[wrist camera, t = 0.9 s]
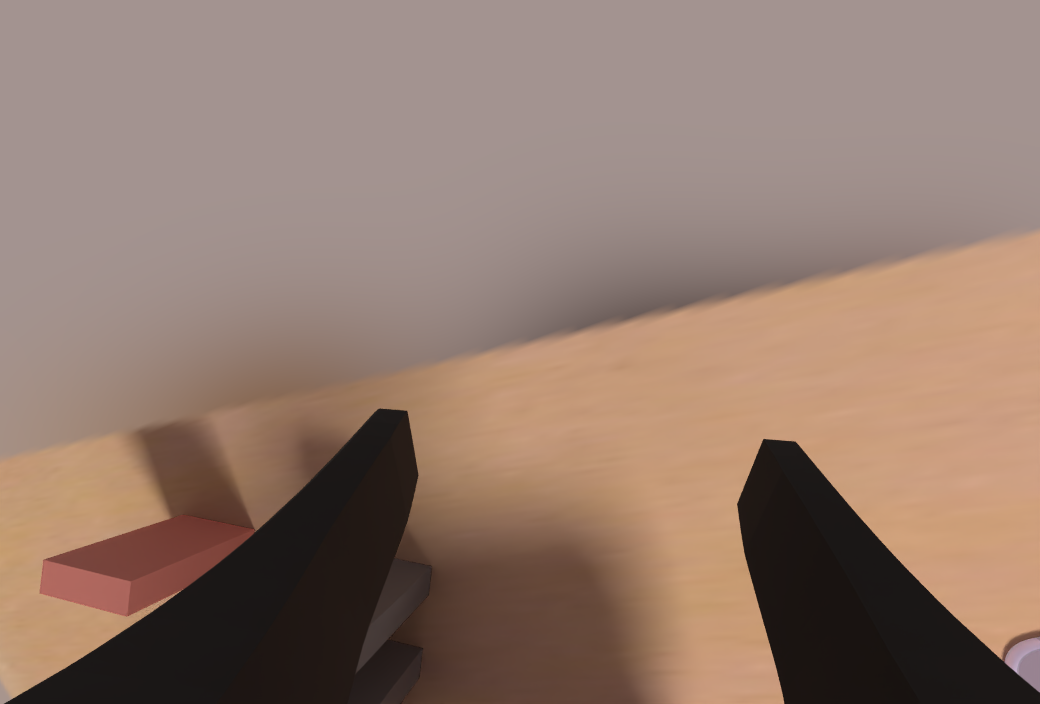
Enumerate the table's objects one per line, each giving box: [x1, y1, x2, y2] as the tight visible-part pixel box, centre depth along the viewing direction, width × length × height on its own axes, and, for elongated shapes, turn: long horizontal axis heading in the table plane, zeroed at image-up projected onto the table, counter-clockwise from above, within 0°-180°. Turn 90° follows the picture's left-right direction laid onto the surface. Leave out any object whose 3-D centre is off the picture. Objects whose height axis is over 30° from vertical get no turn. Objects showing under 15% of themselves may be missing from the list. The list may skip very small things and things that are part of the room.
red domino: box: [40, 515, 254, 616], centre depth 25 cm, size 1×4×7 cm, turn 84°
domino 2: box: [348, 640, 423, 704], centre depth 23 cm, size 1×4×7 cm, turn 83°
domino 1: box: [355, 558, 432, 674], centre depth 23 cm, size 1×4×7 cm, turn 84°
